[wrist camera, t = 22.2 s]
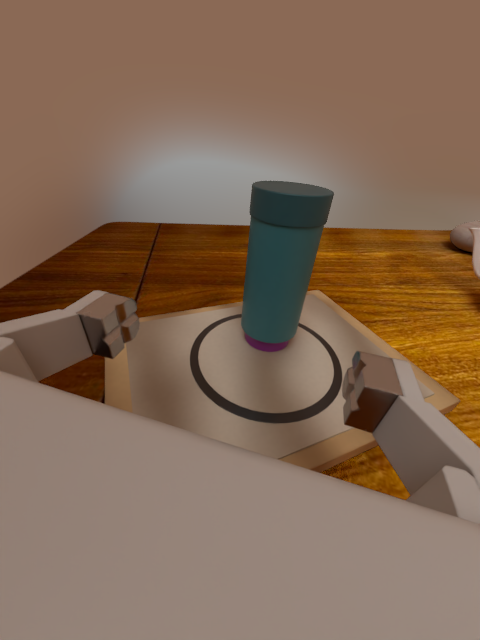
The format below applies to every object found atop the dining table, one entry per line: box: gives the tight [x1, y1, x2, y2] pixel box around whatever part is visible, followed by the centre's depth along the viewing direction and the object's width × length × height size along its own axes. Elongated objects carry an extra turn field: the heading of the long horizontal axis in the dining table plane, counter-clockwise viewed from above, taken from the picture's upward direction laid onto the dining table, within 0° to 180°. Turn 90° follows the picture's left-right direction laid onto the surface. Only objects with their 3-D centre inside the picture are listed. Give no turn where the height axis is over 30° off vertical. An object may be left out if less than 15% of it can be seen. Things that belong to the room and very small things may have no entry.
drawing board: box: [105, 290, 460, 473], centre depth 20 cm, size 22×16×2 cm
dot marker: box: [241, 181, 334, 352], centre depth 18 cm, size 5×5×11 cm
